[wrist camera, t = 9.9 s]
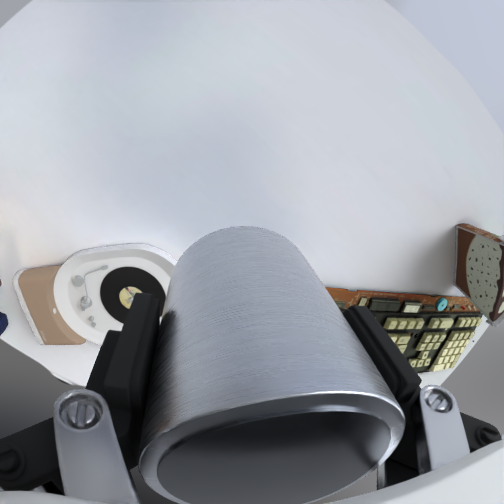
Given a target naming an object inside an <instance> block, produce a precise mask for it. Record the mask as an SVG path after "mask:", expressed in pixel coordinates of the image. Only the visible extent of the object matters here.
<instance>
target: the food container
mask: <svg viewBox="0 0 504 504" xmlns="http://www.w3.org/2000/svg"><path fill="white" fill-rule="evenodd" d="M454 285H455V286H456V287H457V288H458V289H459V290H460V291H461V292H462V293H463V294H464V295H465V296H466V297H467V298H468V299H469V300H470V301H471V302H472V303H473V304H474V305H475V306H476V307H477V308H478V309H479V310H480V311H481V312H482V313H483V315H484V316H485V317H486V318H487V319H488V320H486V322H487V323H489V324H490V325H492V326H493V325H494V326H495V327H497V326H498V325H499V324H500V323H501V322H503V321H504V235H502V236H497V235H495V234H492V233H490V232H487V231H484V230H482V229H479V228H477V227H474V226H471V225H469V224H458V225H456V257H455V275H454Z"/></svg>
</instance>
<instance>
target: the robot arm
mask: <svg viewBox="0 0 504 504" xmlns="http://www.w3.org/2000/svg"><path fill="white" fill-rule="evenodd" d="M343 316H344V317H345V319H346V320H347V322H348V323H349V325H350V326H351V328H352V330H353V331H354V333H355V334H356V336H357V337H358V339H359V340H360V342H361V344H362V345H363V347H364V348H365V350H366V352H367V353H368V355H369V356H370V358H371V360H372V361H373V363H374V364H375V366H376V368H377V369H378V371H379V372H380V374H381V376H382V377H383V379H384V381H385V382H386V384H387V386H388V387H389V389H390V390H391V392H392V394H393V395H394V397H395V399H396V400H397V402H398V404H399V405H400V407H401V409H402V411H403V413H404V416H405V430H404V433H403V436H402V439H401V441H400V442H399V444H398V446H397V447H396V449H395V450H394V451H393V452H392V454H391V455H390V456H389V457H388V458H387V459H386V460H385V461H384V462H383V463H382V464H381V465H380V466H379V467H378V468H377V490H376V491H374V492H370V493H366V494H363V495H359V496H355V497H351V498H347V499H342V500H338V501H333V502H328V503H323V504H504V435H502V434H501V435H500V433H499V431H498V430H497V428H496V427H494V426H493V425H491V424H489V423H486V422H484V421H481V420H479V419H476V418H473V417H471V416H468V415H466V414H464V413H461V412H459V409H458V405H457V402H456V400H455V399H454V396H453V395H452V394H451V393H450V392H449V391H448V390H446V389H445V388H443V387H441V386H437V385H428V386H425V387H424V388H422V389H421V388H420V387H419V385H420V383H421V381H422V380H421V378H420V377H419V376H418V374H417V373H416V372H415V370H414V369H413V367H412V366H411V365H410V363H409V362H408V361H407V359H406V358H405V356H404V355H403V354H402V352H401V351H400V350H399V348H398V347H397V346H396V344H395V343H394V342H393V340H392V339H391V338H390V336H389V335H388V334H387V332H386V331H385V330H384V328H383V327H382V326H381V324H380V323H379V322H378V321H377V319H376V318H375V317H374V315H373V314H372V313H371V312H370V310H369V309H368V308H367V307H366V306H350V307H349V308H348V309H347V310H345V311H344V312H343ZM159 328H160V301H159V299H154V296H153V294H148V293H138V292H136V293H135V296H134V298H133V301H132V303H131V306H130V309H129V311H128V314H127V316H126V319H125V322H124V325H123V327H122V330H121V331H116V330H109V331H108V332H107V334H106V336H105V338H104V341H103V343H102V346H101V348H100V351H99V353H98V356H97V359H96V361H95V364H94V366H93V369H92V372H91V375H90V377H89V380H88V383H87V386H86V388H85V389H75V390H70V391H68V392H66V393H64V394H62V395H61V396H60V397H59V398H58V399H57V400H56V402H55V404H54V408H53V417H52V418H49V419H48V420H45V421H43V422H40V423H38V424H36V425H33V426H31V427H29V428H27V429H24V430H22V431H19V432H17V433H15V434H12V435H10V436H7V437H5V438H2V439H0V504H142V501H141V499H140V497H139V494H138V491H137V489H136V486H135V484H134V481H133V478H132V475H131V472H130V469H132V468H134V467H136V466H137V465H138V456H139V448H140V440H141V432H142V425H143V418H144V412H145V405H146V399H147V393H148V387H149V381H150V375H151V369H152V364H153V358H154V353H155V348H156V343H157V338H158V333H159Z"/></svg>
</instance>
